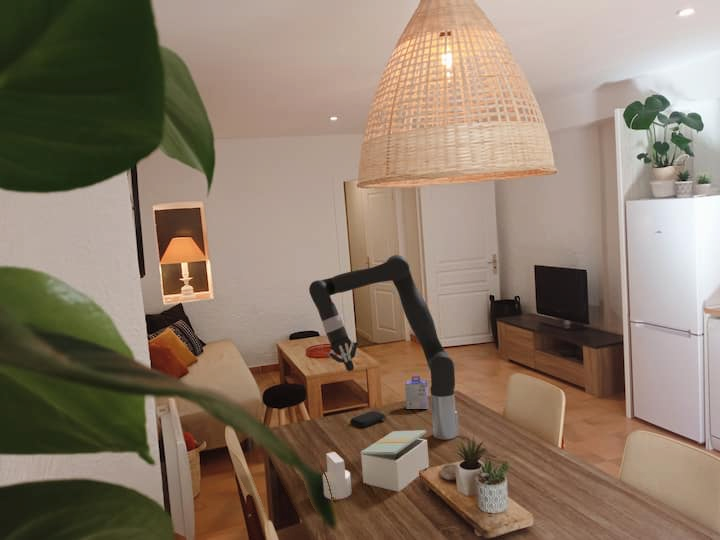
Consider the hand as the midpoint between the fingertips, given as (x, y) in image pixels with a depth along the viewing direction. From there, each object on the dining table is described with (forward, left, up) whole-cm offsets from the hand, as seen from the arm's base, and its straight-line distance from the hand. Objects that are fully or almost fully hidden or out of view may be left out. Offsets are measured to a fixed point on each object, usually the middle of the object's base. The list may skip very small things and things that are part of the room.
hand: (351, 370), depth 227 cm
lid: (-3, +32, -19) cm, 37 cm away
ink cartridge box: (-39, -28, -30) cm, 57 cm away
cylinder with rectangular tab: (+19, +34, -30) cm, 49 cm away
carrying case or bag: (-13, -22, -31) cm, 40 cm away
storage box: (-3, +32, -30) cm, 44 cm away
